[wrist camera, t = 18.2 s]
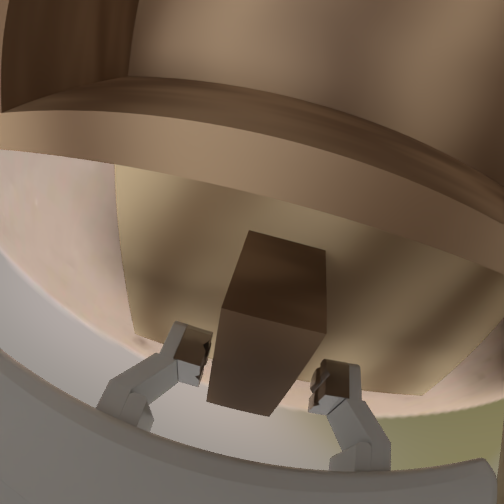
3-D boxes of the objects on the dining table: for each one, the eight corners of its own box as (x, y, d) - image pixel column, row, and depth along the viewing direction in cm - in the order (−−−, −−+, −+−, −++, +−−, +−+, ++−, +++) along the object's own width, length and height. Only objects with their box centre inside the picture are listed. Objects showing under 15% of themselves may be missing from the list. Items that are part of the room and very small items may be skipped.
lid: (523, 242, 11) (574, 323, 6) (418, 371, 18) (426, 443, 13) (142, 121, 11) (39, 176, 6) (148, 309, 19) (109, 383, 14)
